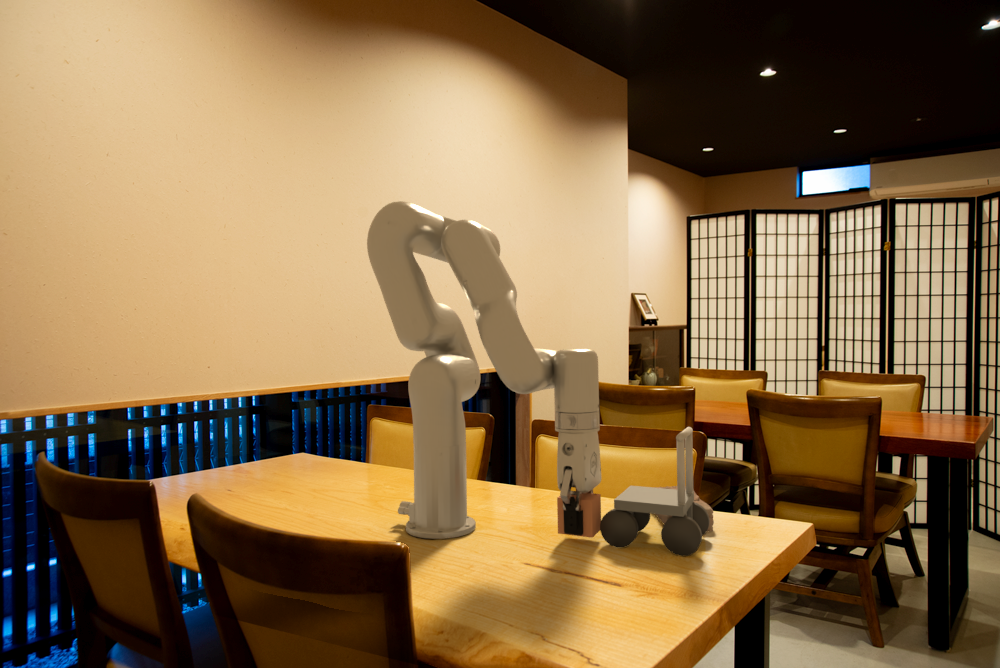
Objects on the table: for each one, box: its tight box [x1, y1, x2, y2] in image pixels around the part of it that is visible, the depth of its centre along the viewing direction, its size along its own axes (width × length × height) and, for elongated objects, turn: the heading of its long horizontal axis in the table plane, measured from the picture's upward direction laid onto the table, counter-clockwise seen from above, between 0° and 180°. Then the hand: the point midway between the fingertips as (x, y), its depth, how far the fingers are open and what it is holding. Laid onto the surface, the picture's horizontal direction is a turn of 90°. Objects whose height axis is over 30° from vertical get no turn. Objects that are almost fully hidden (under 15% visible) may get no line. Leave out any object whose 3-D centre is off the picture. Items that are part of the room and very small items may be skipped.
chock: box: [556, 492, 602, 539], centre depth 106 cm, size 6×5×6 cm
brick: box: [653, 485, 715, 533], centre depth 119 cm, size 17×8×5 cm, turn 178°
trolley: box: [599, 426, 710, 557], centre depth 105 cm, size 16×11×19 cm
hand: (579, 528), depth 106 cm, fingers closed on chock, 5 cm apart
